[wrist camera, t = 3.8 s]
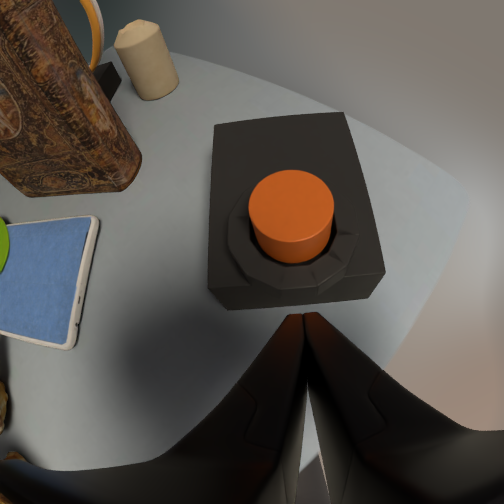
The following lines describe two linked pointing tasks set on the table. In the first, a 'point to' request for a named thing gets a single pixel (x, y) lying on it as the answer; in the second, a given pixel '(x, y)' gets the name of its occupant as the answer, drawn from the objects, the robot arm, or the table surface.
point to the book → (56, 111)
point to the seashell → (2, 405)
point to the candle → (146, 59)
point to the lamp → (100, 51)
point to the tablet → (46, 279)
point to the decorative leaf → (3, 243)
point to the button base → (241, 229)
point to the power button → (291, 215)
